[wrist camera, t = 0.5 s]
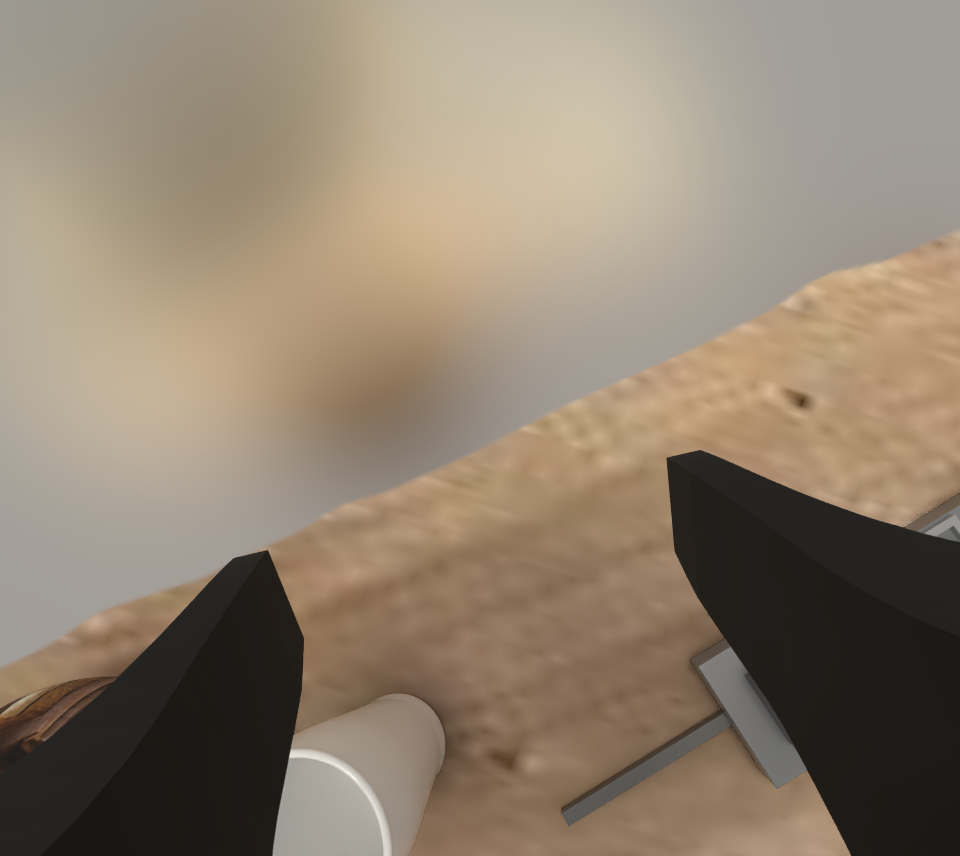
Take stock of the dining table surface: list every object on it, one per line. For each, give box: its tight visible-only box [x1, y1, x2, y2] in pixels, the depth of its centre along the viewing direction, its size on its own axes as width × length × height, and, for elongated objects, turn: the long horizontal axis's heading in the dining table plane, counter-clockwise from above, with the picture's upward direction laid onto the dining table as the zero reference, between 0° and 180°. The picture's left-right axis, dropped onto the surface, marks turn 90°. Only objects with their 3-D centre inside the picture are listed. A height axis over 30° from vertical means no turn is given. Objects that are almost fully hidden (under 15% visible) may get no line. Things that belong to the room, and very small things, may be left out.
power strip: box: [561, 493, 960, 826], centre depth 33 cm, size 6×29×6 cm, turn 121°
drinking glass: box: [273, 693, 446, 856], centre depth 30 cm, size 7×7×15 cm
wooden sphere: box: [0, 677, 118, 775], centre depth 31 cm, size 15×15×15 cm
